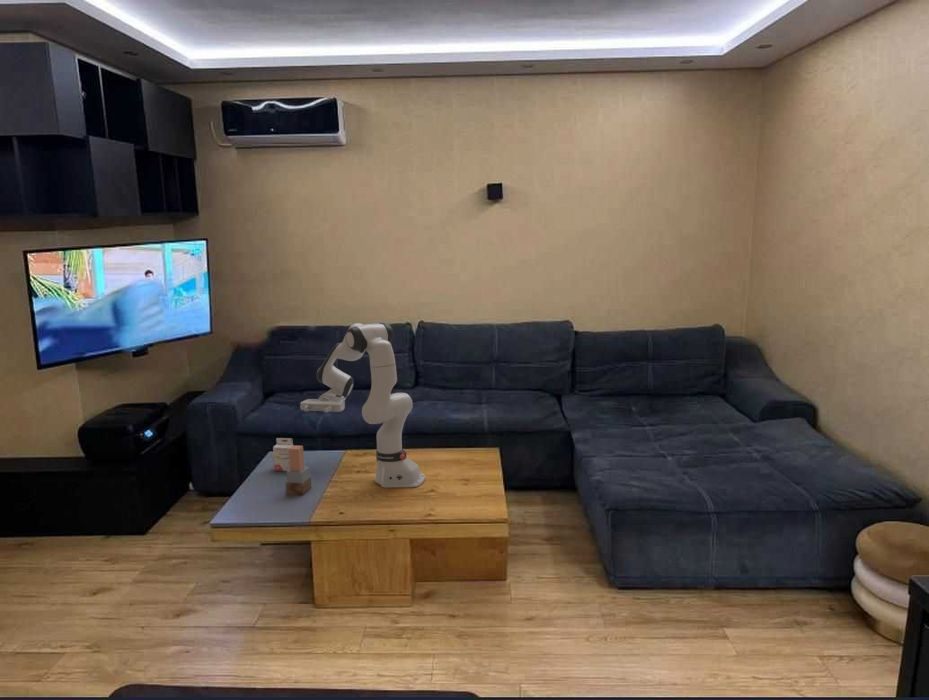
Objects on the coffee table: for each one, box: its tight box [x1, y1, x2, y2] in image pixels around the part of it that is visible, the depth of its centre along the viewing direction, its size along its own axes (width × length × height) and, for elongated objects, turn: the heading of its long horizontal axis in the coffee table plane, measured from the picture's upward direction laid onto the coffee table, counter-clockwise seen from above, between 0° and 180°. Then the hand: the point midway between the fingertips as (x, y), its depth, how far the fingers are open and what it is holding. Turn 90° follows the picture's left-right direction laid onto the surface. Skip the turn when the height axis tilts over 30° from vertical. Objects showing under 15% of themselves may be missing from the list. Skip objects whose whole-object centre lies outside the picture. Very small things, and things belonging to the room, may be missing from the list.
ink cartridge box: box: [272, 437, 294, 472], centre depth 315 cm, size 9×5×15 cm, turn 84°
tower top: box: [286, 466, 310, 484], centre depth 289 cm, size 7×7×5 cm
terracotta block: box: [289, 444, 305, 472], centre depth 288 cm, size 4×4×10 cm
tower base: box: [285, 477, 312, 496], centre depth 290 cm, size 8×8×5 cm
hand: (315, 410), depth 306 cm, fingers open, 8 cm apart
